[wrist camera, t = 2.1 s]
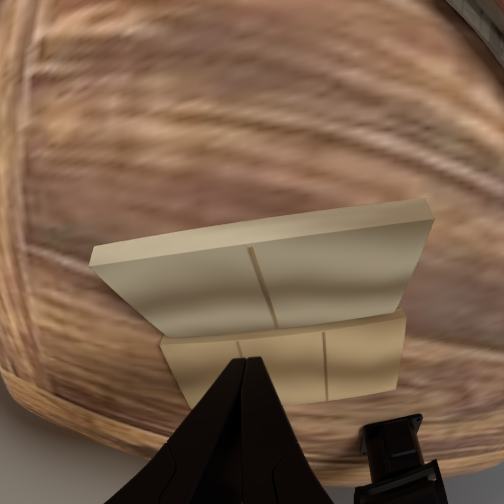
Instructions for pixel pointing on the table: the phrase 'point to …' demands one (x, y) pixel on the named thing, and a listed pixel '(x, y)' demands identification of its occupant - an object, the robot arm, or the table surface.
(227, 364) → the robot arm
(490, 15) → the packaged product
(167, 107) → the table surface
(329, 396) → the laid board
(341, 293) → the beige grooved panel
